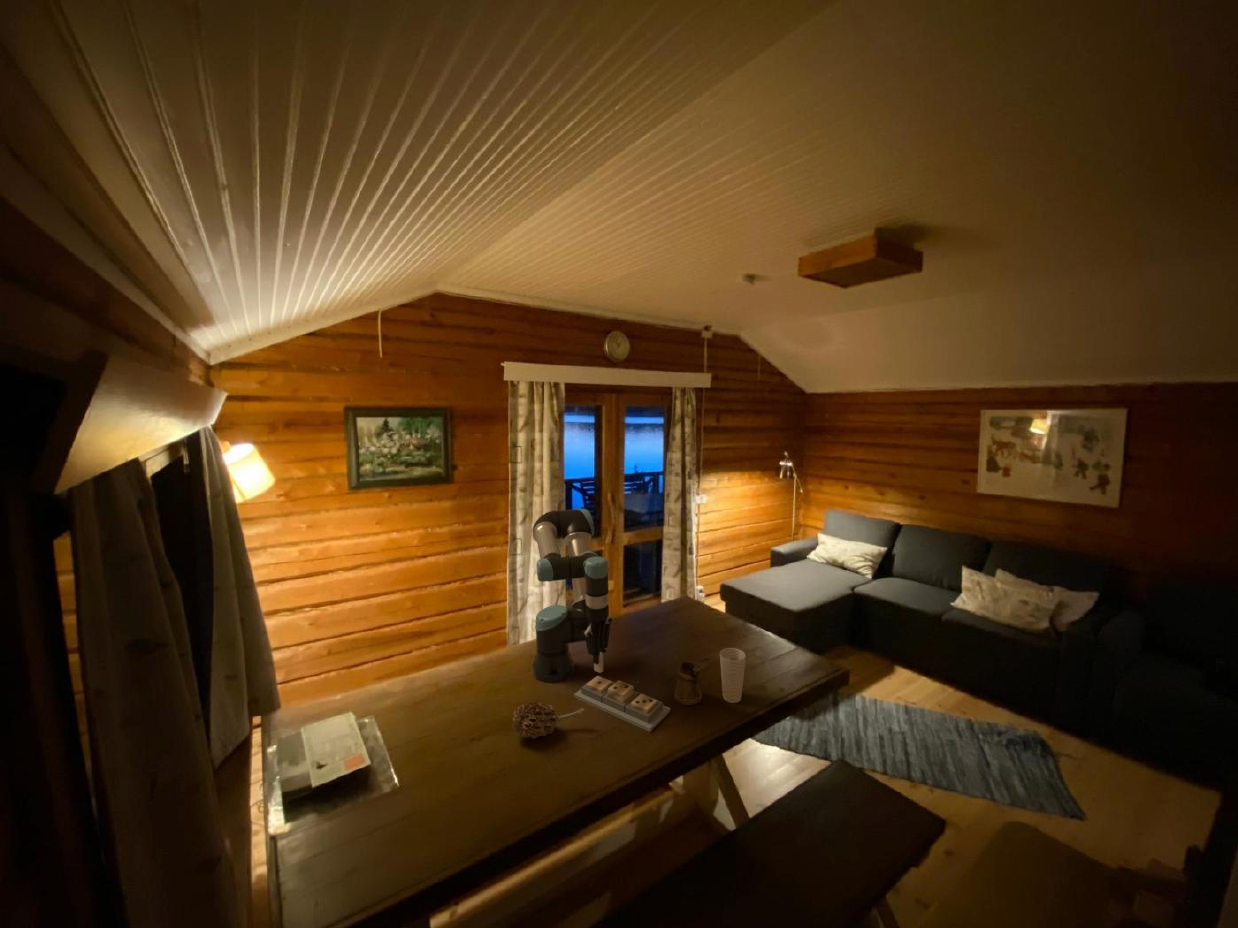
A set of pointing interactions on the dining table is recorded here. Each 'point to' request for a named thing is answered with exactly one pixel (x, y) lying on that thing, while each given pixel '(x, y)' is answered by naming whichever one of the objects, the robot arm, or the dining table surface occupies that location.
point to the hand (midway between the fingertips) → (598, 670)
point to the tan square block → (599, 684)
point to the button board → (623, 708)
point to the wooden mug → (689, 682)
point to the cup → (732, 673)
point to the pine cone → (538, 719)
